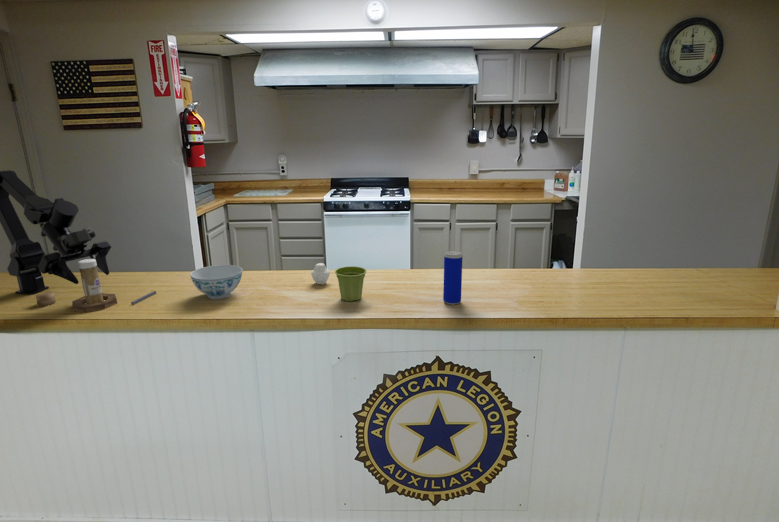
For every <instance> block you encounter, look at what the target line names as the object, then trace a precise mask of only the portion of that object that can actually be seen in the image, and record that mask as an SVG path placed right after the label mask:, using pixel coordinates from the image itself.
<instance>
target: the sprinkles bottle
mask: <svg viewBox="0 0 779 522" xmlns="http://www.w3.org/2000/svg"><path fill="white" fill-rule="evenodd" d="M77 267H78V270H79V273H80V276H81V278H80V279H81V283H82V289H83V293H84V296H85V297H86V302H87V303H86V304H94V303H100V302H103V301H104V300H103V296H102V293H103V290H102V285H101V281H100V276H99V272H98V267H97V263H96V260H95V259H91V258H86V259H82V260H81V259H80V260H78V261H77Z"/></svg>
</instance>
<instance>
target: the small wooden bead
mask: <svg viewBox="0 0 779 522" xmlns="http://www.w3.org/2000/svg"><path fill="white" fill-rule="evenodd" d="M35 299H36V304H37V306H38V307H41V306H43V307H49V306H52V304H53V305H54V303H55V302H56V303H57V300H56V296H55V293H54V291H53V292H52V291H46V292H41V293H38V294H36V295H35ZM56 303H55V304H56ZM48 305H49V306H48Z"/></svg>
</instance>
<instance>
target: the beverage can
mask: <svg viewBox="0 0 779 522" xmlns="http://www.w3.org/2000/svg"><path fill="white" fill-rule="evenodd" d="M462 279H463V253H462V252H461V251H458V250H447V251H446V252H445V253H444V256H443V293H442V294H443V296H442V299H443V300H442V301H443V302H444V303H445V304H446V303H447V304H446V305H449V304H452V305H451V306H454V305H453V304H457V305H458V304H460V303H461V302H462V284H463V283H462Z"/></svg>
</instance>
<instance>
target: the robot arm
mask: <svg viewBox="0 0 779 522" xmlns="http://www.w3.org/2000/svg"><path fill="white" fill-rule="evenodd" d="M10 196H11V197H12V198H13V199H14V200H15V201H16V202H17V203H18V204H20V205H21V206H22V208H23V215H24V216H25V217H26V219H27V220H28V222H30V223H31V224H33V225H41V224H43V225H42V227H41V232H40V236H41V237H42V238H43V237H47V239H48V240H49V241H50V242H51V245H53V247H52V250H53V252H51V253H46V252H45V251H44V250H43V247H42V246H41V243H40V242H39V241H33V240H32V239H30V237H29V234H28V233H27V231H26V229H25V228H24V226H23V223H22V221H21V219H20V217H19V215H18V212H17V211H16V208H15V207H14V205H13V203H12V201H11V198H10ZM78 213H79V207H78V206H77V204H74V203H73V202H71V201H69V200H65V199H64V198H63V197H58V198H55V199H54V201H51V200H50V199H48V198H46V197H42V196H39V195H37V194H36V193H35V191H33V190H32V189H31V188H30V187H29V186H28V185H27V184H26V183H25V182H24V181H22V179H20V178H19V177H18V175H17V173H16V172H15V170H11V169H7V170H5V169H4V170H0V225H1V226H2V229H3V231H4V232H5V235H6V236H7V238H8V241H9V242H10V246H11V247H10V251H9V257H10V261H9V264H8V265H7V268H6V269H7V272H8V274H9V276H13V277H16V279H17V284H18V289H19V290H15V291H14V292H15V293H16V294H22V295H23V294H26V295H33V294H36V293H39V292H41V291H44V290H47V289H49V288H50V286H48V285H47V286H46V285H45V281H44V277H43V275H45V274H48V275H54V276H57V277H59V278H62V279H64V280H66V281H67V282H68V281H69V282H71V283H73V284H74V285H78V283H80V282H79V280H78V278H77V276H76V275H75V274H74V273H73V271H72V270H71V269H70V268H69V266H68V265H67V262H71V261H76V260H79V259H80V260H81V259H83V258H87V257H89V259H95V260H96V263H97V269H98V268H99V270H100V271H101V272H102V273H104V275H106V276H108V275H109V274H110V270H109V266H108V263H107V255H108V253H109V252H110V250H111V248H112V245H111V244H110V242H108V241H107V240H106V241H105V240H102V241H98V242H95V243H93V244H92V246H91V247H90V248H89V249H85V248H87V246H88V242H89V241H90V242H91V241H92V239H94V238H95V237H96V232H95V231H94V229H93V228H92V227H91V226H88V227H84V228H82V230H78V231H73V232H72V231H71V230H70V228H71V226H73V224H74V222H75V219H76V218H77V215H78ZM42 274H43V275H42ZM15 293H14V294H15Z"/></svg>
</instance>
